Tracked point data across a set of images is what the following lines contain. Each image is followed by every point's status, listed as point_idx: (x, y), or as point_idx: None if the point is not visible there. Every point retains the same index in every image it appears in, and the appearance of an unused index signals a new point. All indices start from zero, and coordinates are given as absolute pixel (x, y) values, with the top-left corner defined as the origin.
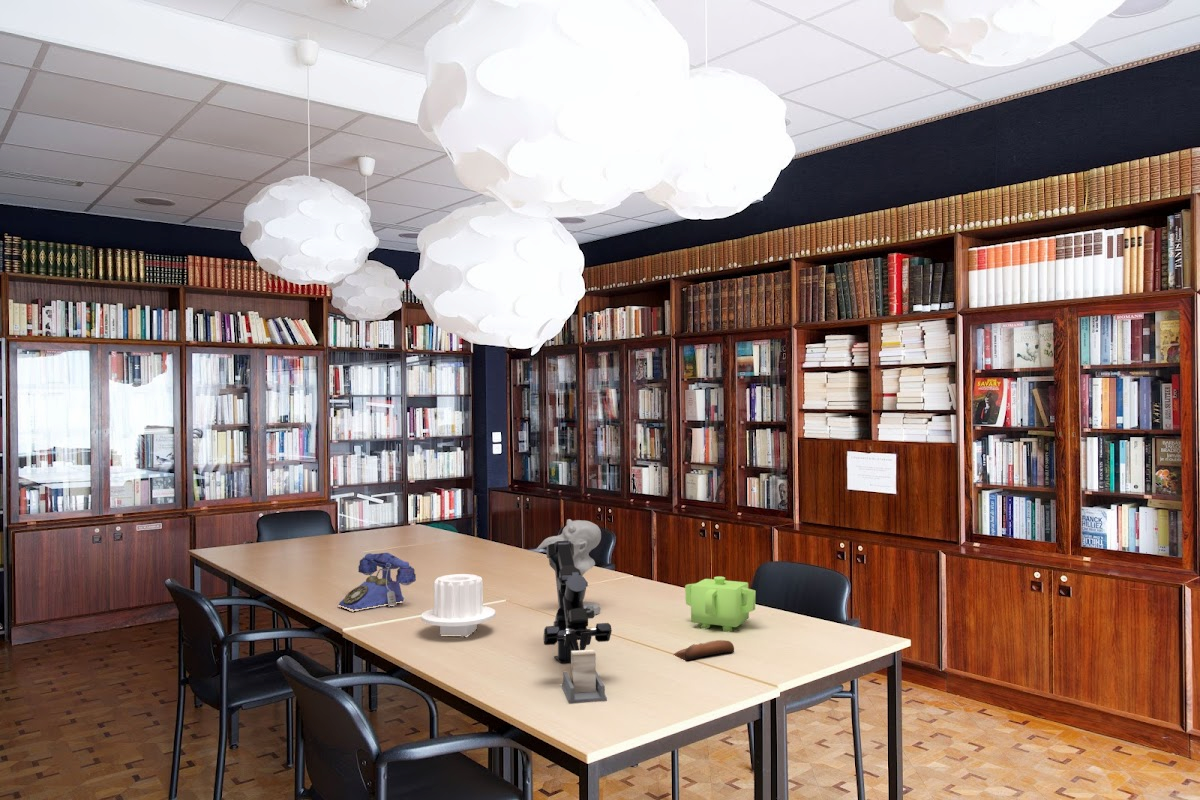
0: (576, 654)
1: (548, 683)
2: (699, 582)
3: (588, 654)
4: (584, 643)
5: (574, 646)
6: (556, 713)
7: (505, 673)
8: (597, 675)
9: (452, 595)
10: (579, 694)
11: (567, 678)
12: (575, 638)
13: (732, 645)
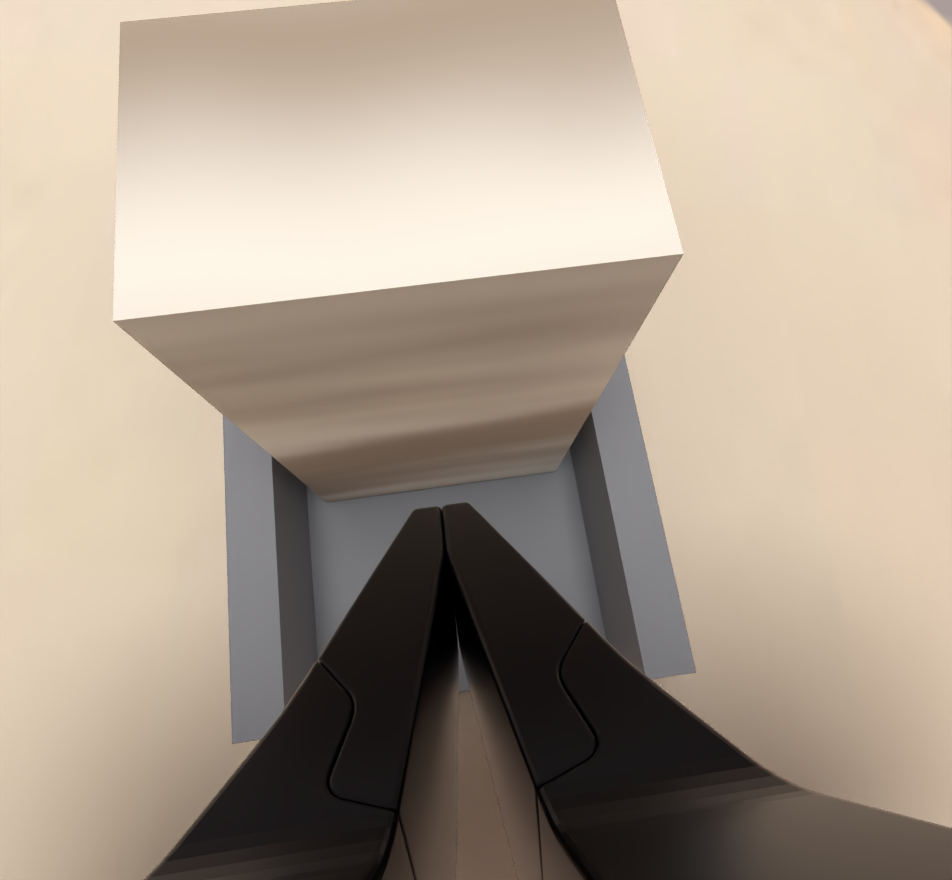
0: (541, 3)
1: (819, 766)
2: None
3: (281, 11)
4: (277, 775)
5: (619, 660)
6: (644, 30)
7: None
8: (240, 483)
9: None
10: None
11: (618, 396)
12: (658, 850)
13: None
